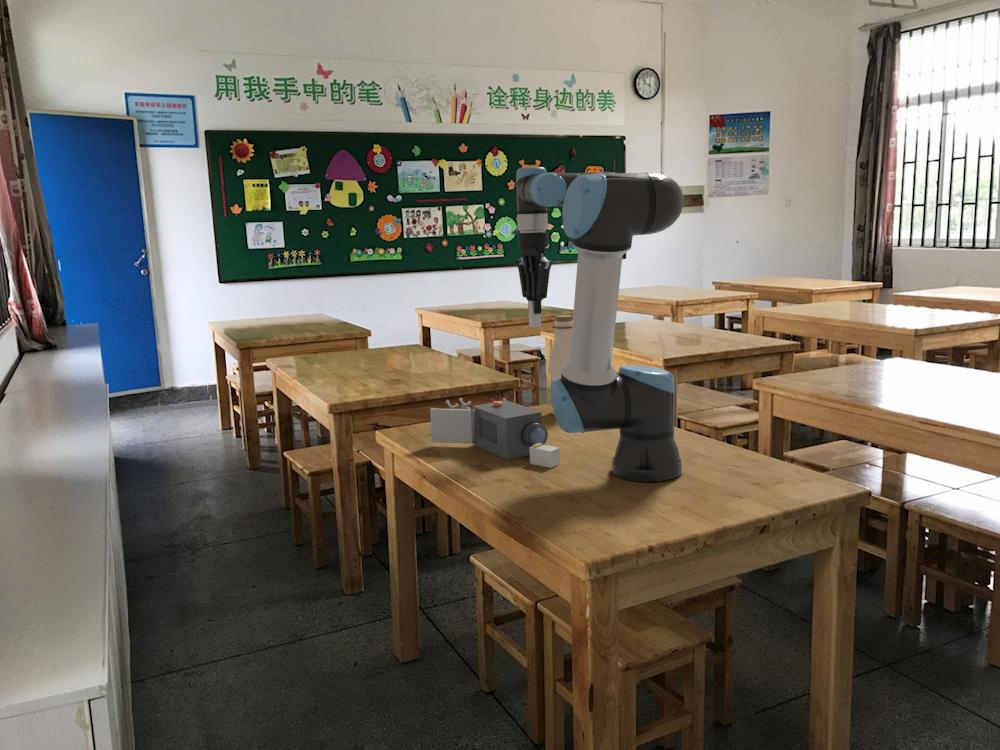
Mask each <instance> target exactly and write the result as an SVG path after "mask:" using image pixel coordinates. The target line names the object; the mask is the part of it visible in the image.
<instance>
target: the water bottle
mask: <svg viewBox="0 0 1000 750" xmlns="http://www.w3.org/2000/svg"><path fill="white" fill-rule="evenodd" d="M572 325H573V315H572V314H560V315H556V316H555V320H554V324H552V325H550V327H551V328H552V329H554V330H553V331H554V334H553V335H554V336H553V337H554V340H553V341H554V342H553V344H552V347H551V348H550V351H549V356H548V369H549V374H550V379H551V382H552V381H553V380H555V379H561V372H562V367H563V366H564V365H565V364H567V363H568V362H569V361H570V350H571V337H572ZM551 412H552V415H554V412H553V411H551Z"/></svg>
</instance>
